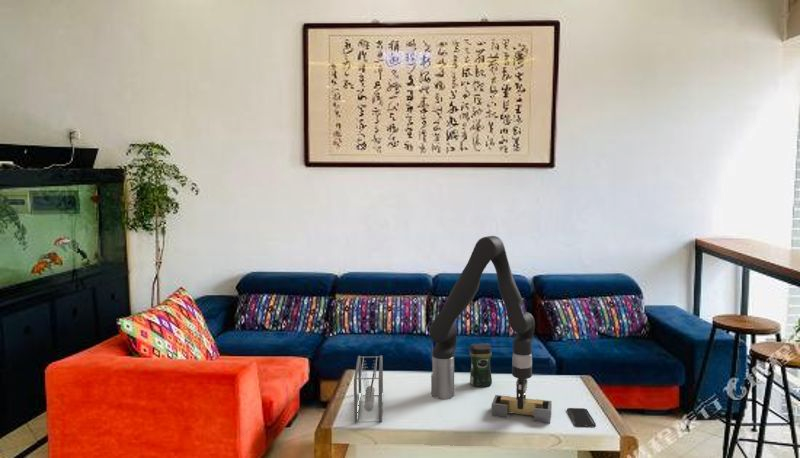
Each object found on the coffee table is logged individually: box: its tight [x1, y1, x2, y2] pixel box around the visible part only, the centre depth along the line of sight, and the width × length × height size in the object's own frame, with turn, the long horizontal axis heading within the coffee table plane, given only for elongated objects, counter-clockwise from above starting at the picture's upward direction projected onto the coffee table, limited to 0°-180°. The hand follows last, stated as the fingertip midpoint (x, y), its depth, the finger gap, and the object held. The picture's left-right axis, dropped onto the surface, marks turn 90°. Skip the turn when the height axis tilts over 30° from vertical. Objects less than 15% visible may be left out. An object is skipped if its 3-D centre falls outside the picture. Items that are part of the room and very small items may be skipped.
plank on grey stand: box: [491, 394, 553, 424], centre depth 220 cm, size 22×10×5 cm, turn 72°
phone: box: [566, 407, 597, 428], centre depth 217 cm, size 8×1×15 cm
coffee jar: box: [469, 342, 493, 388], centre depth 252 cm, size 10×8×19 cm
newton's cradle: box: [353, 355, 384, 423], centre depth 228 cm, size 30×10×18 cm, turn 1°
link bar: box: [500, 395, 544, 416], centre depth 220 cm, size 16×4×5 cm, turn 71°
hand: (521, 404), depth 220 cm, fingers open, 8 cm apart
